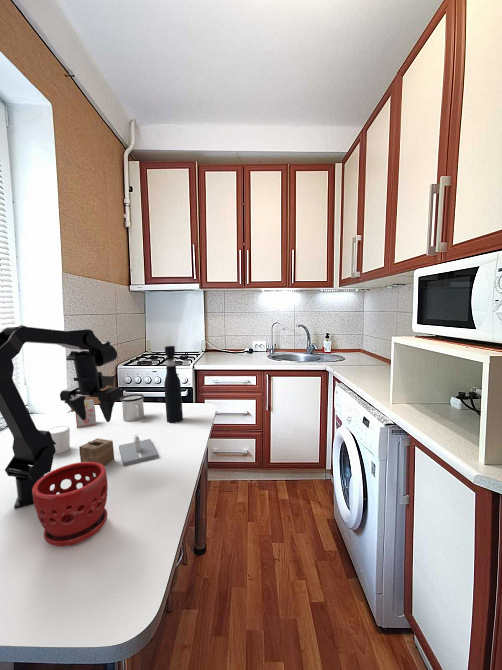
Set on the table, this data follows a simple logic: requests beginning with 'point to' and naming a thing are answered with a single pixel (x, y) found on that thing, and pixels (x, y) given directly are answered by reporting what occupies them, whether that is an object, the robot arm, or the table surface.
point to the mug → (132, 407)
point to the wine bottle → (172, 389)
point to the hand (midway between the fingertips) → (96, 420)
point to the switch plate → (137, 451)
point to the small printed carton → (87, 415)
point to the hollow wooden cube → (97, 451)
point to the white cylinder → (61, 438)
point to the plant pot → (71, 503)
